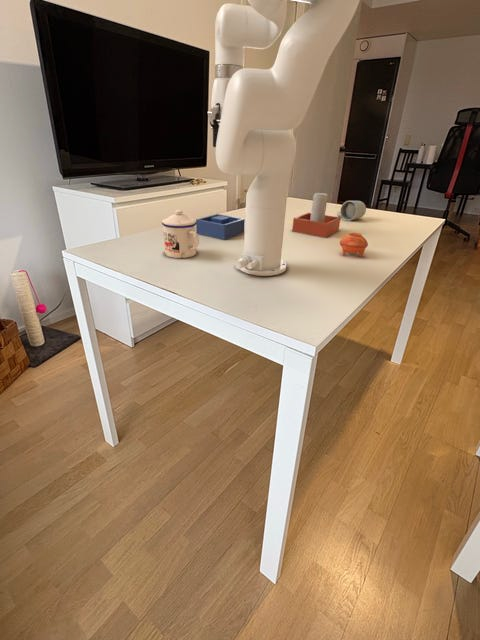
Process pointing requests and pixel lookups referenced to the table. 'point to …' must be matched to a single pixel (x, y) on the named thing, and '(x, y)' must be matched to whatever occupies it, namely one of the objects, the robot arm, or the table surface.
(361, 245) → the pot
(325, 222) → the terracotta bin
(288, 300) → the table surface
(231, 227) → the blue bin
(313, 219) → the beverage can
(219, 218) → the blue block
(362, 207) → the ceramic mug
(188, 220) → the teacup with lid
